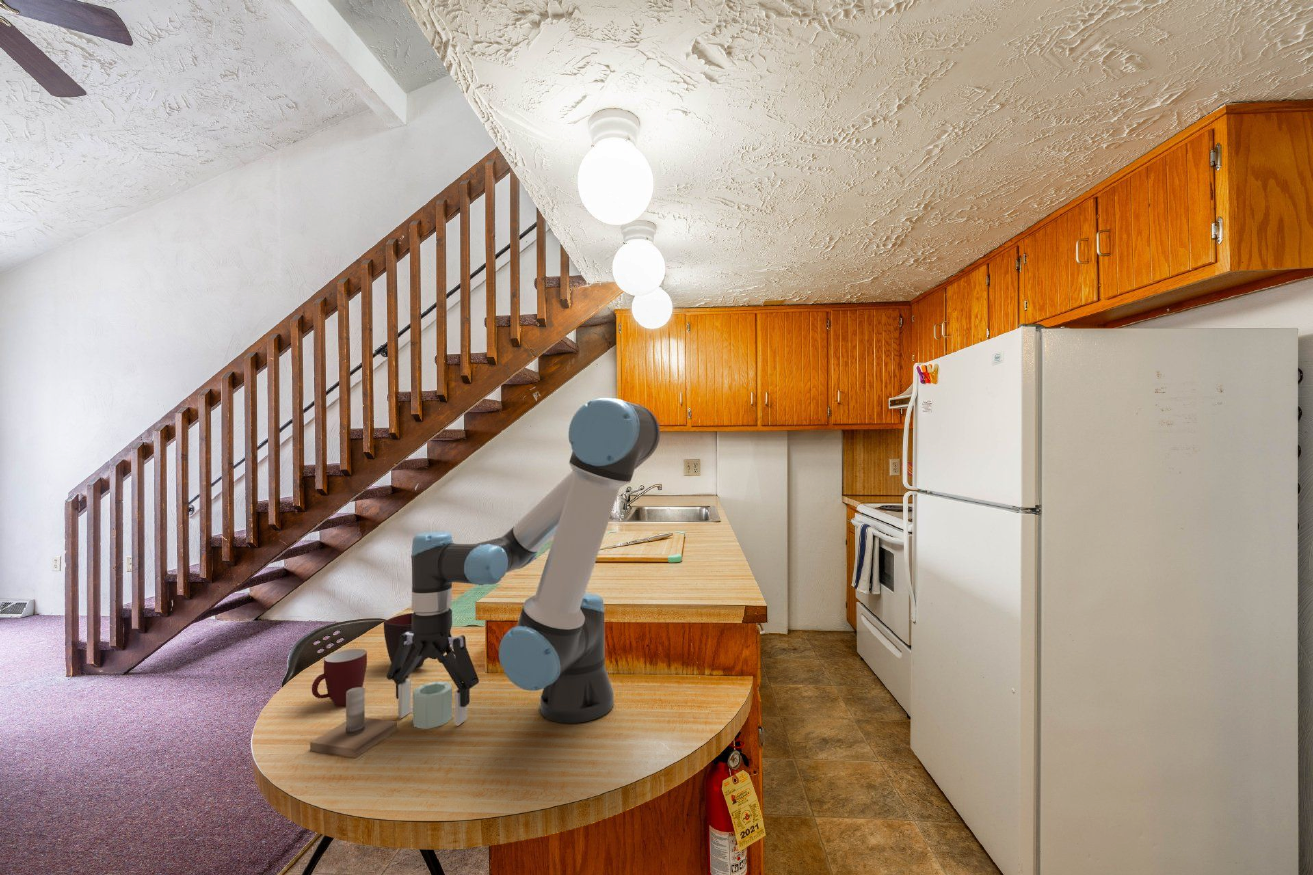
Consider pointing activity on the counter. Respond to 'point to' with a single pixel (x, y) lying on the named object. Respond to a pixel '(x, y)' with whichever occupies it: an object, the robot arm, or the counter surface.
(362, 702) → the post stand
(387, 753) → the counter surface
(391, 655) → the mug
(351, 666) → the mug
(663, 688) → the counter surface
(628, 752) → the counter surface
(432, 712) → the ring
